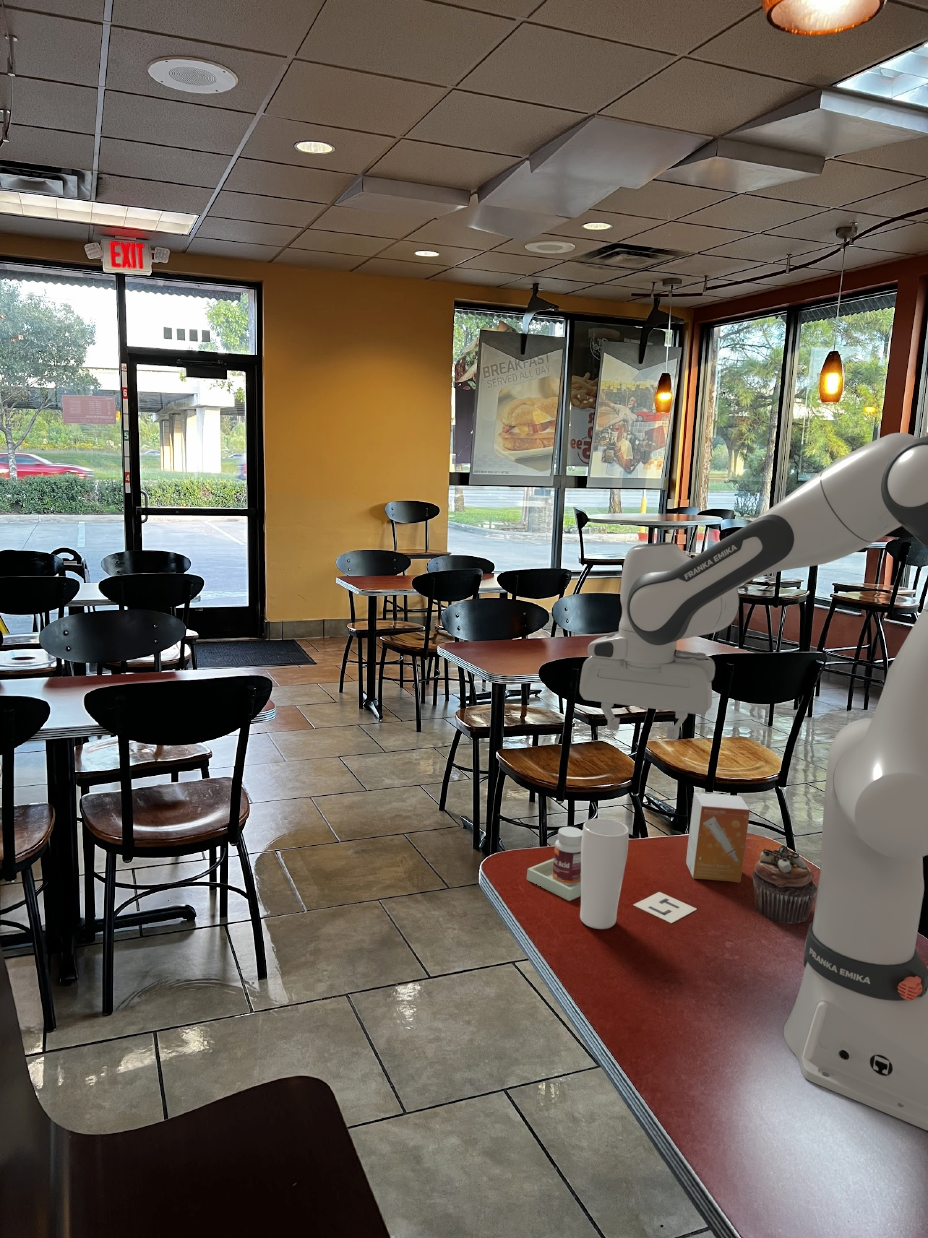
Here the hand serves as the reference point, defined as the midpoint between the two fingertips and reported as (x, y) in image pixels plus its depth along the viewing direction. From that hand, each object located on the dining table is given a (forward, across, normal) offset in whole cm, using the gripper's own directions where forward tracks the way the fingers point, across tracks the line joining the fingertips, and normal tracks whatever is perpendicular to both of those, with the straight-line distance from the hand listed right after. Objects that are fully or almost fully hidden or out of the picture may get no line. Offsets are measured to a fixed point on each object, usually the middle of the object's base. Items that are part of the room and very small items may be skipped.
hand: (642, 734), depth 143 cm
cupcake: (+27, -22, -5) cm, 35 cm away
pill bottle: (+25, +10, +4) cm, 27 cm away
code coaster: (+26, -6, +4) cm, 27 cm away
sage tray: (+25, +10, +4) cm, 28 cm away
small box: (+27, -10, -13) cm, 31 cm away
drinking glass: (+26, +2, +13) cm, 29 cm away
